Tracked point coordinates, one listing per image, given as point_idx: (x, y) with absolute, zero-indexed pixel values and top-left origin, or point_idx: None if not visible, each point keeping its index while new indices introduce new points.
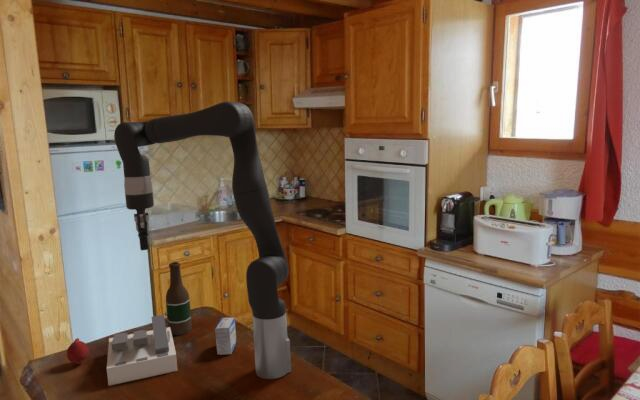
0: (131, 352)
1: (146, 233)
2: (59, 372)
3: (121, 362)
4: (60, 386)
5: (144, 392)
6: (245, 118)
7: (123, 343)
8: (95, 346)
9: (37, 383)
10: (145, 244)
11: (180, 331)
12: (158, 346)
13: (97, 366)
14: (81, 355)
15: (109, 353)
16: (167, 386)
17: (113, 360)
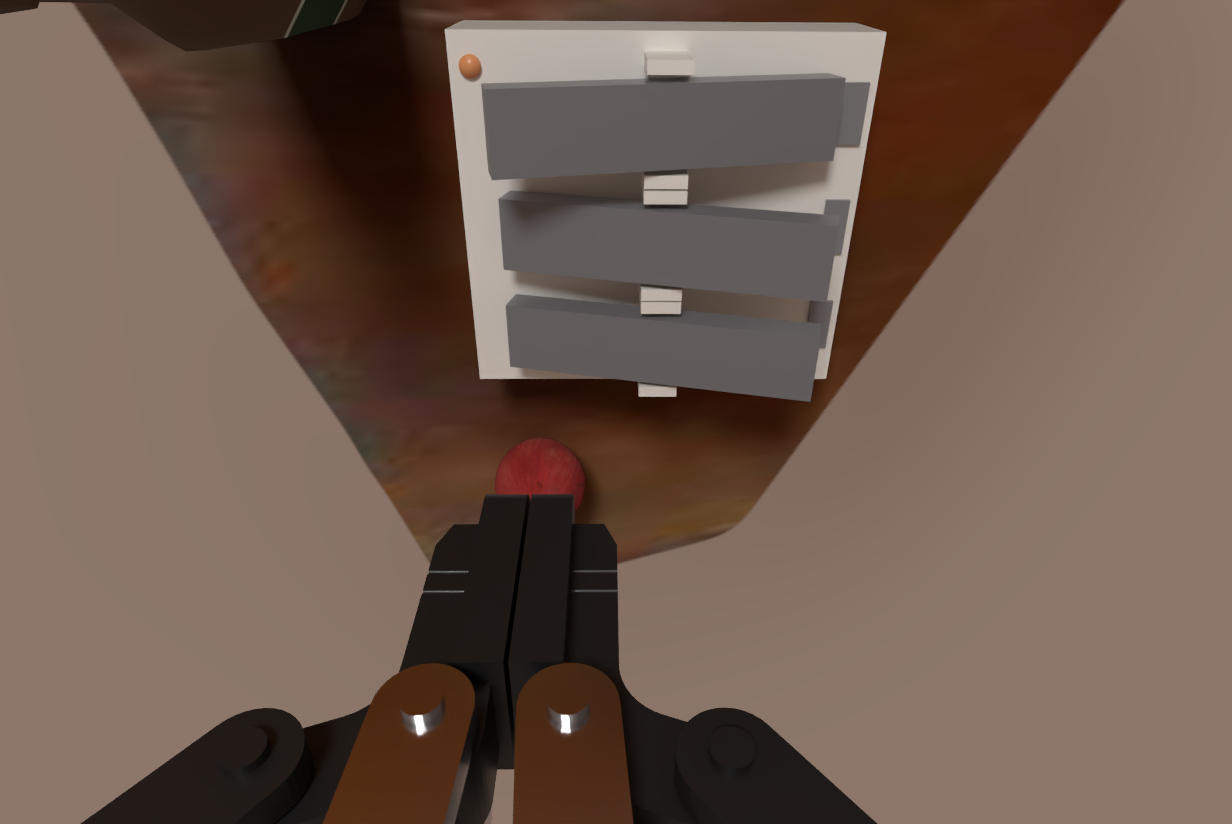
0: None
1: (846, 815)
2: (587, 505)
3: (810, 321)
4: (706, 492)
5: (959, 201)
6: None
7: (818, 346)
8: (384, 404)
9: (641, 556)
10: (615, 592)
11: None
12: (816, 142)
13: (602, 386)
14: (581, 468)
15: None
16: (979, 93)
17: None
